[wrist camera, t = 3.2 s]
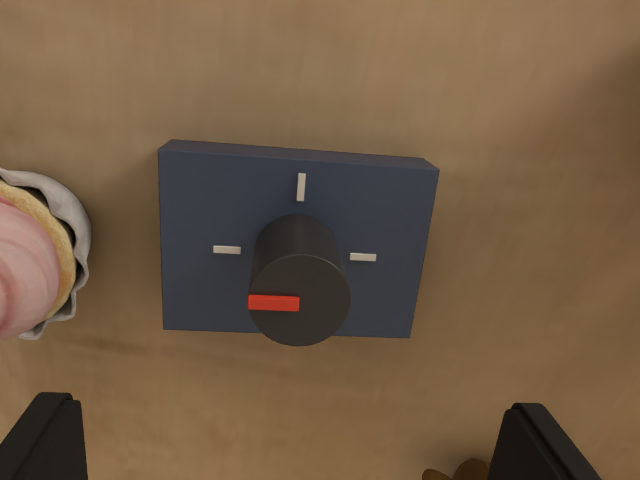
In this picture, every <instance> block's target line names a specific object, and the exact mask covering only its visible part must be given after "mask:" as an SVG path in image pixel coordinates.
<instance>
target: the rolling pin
mask: <svg viewBox="0 0 640 480" xmlns="http://www.w3.org/2000/svg"><path fill="white" fill-rule="evenodd" d="M489 469H490V465H489V464H488V463H487V462H485V461H482V460H477V459H473V458H471V459H469V460H468V461H466V462H464V463H463V464H461V465H460V467H459V468H458V470H457V472H456V473H455V475H454V477H453V479H451V478H449V477H448V476H446V475H444V474H442V473H441V472H439V471H436V470H433V469H426V470H425V471H424V473H423V475H422V479H423V480H487V476H488V473H489Z"/></svg>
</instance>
